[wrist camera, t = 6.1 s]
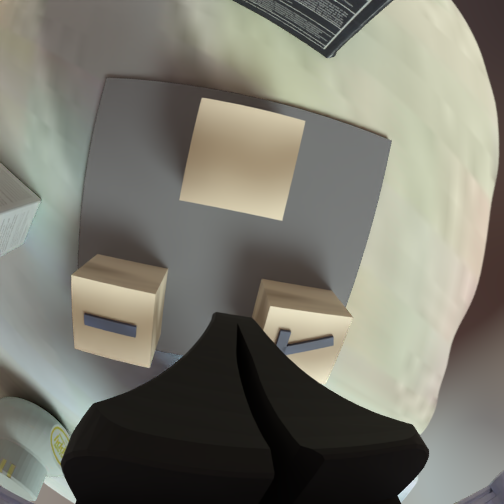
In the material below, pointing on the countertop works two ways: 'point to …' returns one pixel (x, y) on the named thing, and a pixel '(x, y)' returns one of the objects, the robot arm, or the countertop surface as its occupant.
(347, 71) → the countertop surface
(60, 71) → the countertop surface
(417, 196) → the countertop surface
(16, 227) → the skincare box
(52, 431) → the air freshener
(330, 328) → the marked block
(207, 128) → the plain block
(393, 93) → the countertop surface
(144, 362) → the marked block
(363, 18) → the small box
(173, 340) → the mat
